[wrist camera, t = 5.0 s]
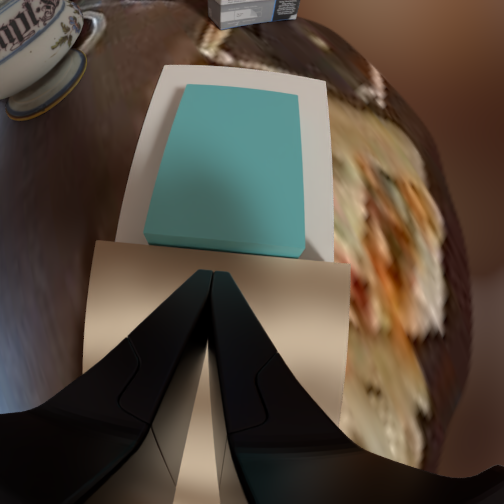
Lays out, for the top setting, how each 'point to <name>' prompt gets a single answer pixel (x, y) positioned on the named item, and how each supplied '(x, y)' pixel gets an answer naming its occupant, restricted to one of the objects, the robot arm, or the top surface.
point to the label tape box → (250, 11)
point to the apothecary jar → (38, 54)
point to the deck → (264, 307)
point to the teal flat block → (231, 175)
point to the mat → (179, 76)
